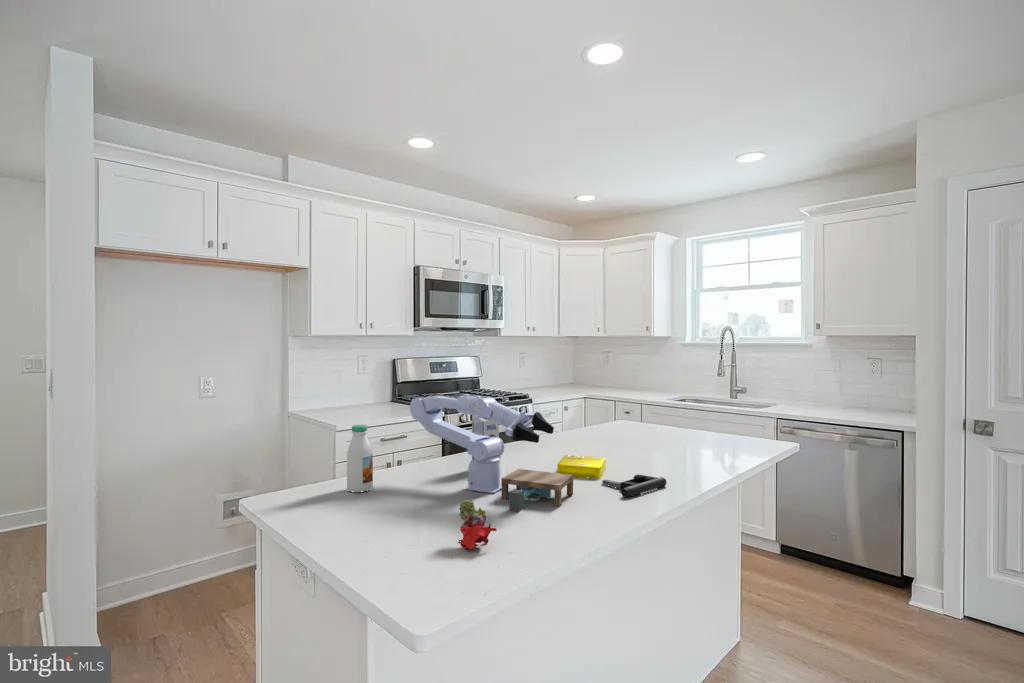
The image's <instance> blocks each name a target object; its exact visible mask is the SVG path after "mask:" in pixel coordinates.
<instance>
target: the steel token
mask: <svg viewBox="0 0 1024 683" xmlns="http://www.w3.org/2000/svg"><path fill="white" fill-rule="evenodd" d="M540 500H541V497H540V495H538V494H534V493H532V494H530V495H529V496H527V497H526V498H524V502H525V501H526V502H530V503H531V502H533V501H534V502H538V501H540Z"/></svg>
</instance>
